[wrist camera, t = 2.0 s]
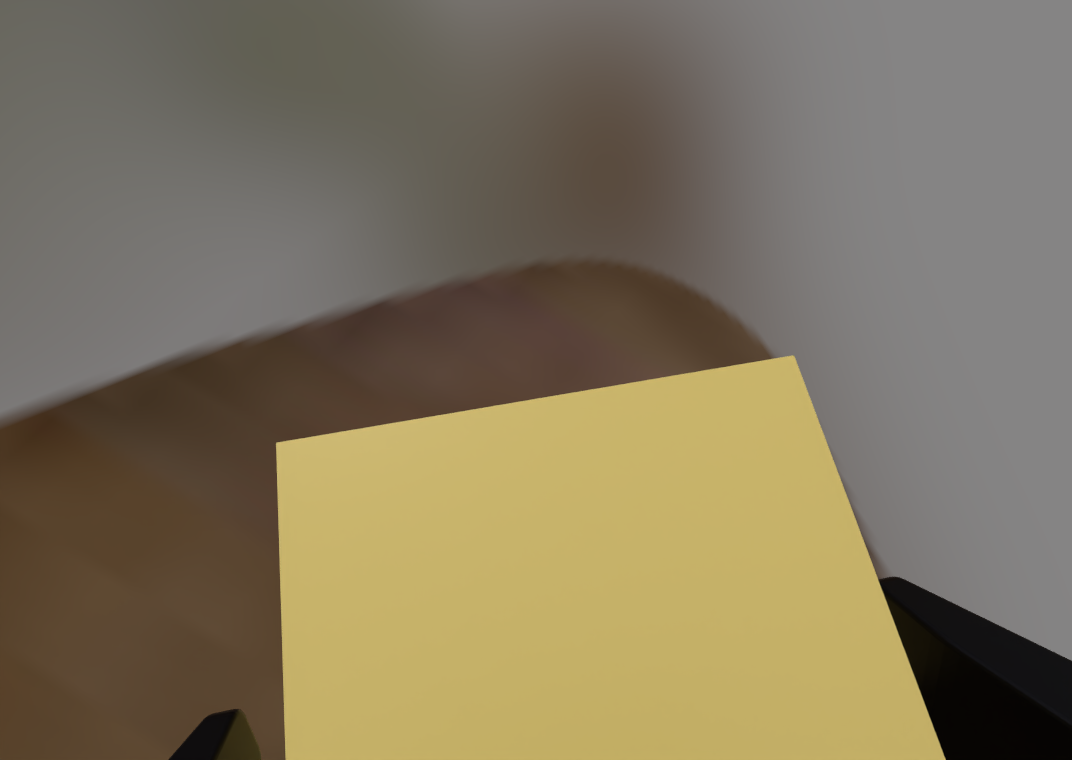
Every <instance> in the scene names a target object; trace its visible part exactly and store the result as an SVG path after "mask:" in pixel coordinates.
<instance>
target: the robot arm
mask: <svg viewBox="0 0 1072 760" xmlns="http://www.w3.org/2000/svg"><path fill="white" fill-rule="evenodd" d="M878 581H879V583H880V586H881V589H882V591H883V594H884V597H885V599H886V602H887V605H888V607H889V610H890V613H891V615H892V618H893V621H894V623H895V626H896V629H897V631H898V634H899V637H900V639H901V642H902V645H903V647H904V650H905V653H906V655H907V658H908V661H909V663H910V666H911V669H912V671H913V674H914V677H915V679H916V682H917V685H918V687H919V690H920V693H921V695H922V698H923V701H924V703H925V706H926V709H927V711H928V714H929V717H930V719H931V722H932V725H933V727H934V730H935V733H936V735H937V738H938V741H939V743H940V746H941V749H942V751H943V754H944V757H945V759H946V760H1072V661H1071V660H1069V659H1067V658H1065V657H1062V656H1060V655H1058V654H1057V653H1054V652H1052V651H1050V650H1048V649H1046V648H1044V647H1042V646H1040V645H1038V644H1036V643H1034V642H1032V641H1030V640H1028V639H1026V638H1024V637H1022V636H1019V635H1018V634H1015V633H1013V632H1011V631H1009V630H1007V629H1005V628H1003V627H1001V626H999V625H997V624H995V623H993V622H991V621H989V620H987V619H985V618H982V617H980V616H978V615H976V614H974V613H972V612H970V611H968V610H966V609H964V608H962V607H960V606H958V605H956V604H954V603H952V602H950V601H947V600H946V599H944V598H941V597H939V596H937V595H935V594H933V593H931V592H929V591H927V590H925V589H923V588H921V587H919V586H917V585H915V584H913V583H911V582H909V581H907V580H904V579H902V578H900V577H887V578H882V579H878ZM169 760H261V753H260V749H259V746H258V743H257V741H256V739H255V737H254V734H253V732H252V730H251V727H250V725H249V723H248V721H247V718H246V716H245V714H244V713H243V712H242V711H241V710H239V709H233V710H228V711H223V712H218V713H213V714H211V715H209V716H207V717H206V718H205V719H204V720H203V721H202V722H201V723H200V724H199V725H198V726H197V727H196V729H195V730H194V731H193V732H192V733H191V734H190V735H189V737H188V738H187V739H186V740H185V741H184V742H183V744H182V745H181V746H180V747H179V748H178V749H177V750H176V752H175V753H174V754H173V755H172V756H171V757H170V758H169Z"/></svg>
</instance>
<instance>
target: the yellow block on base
mask: <svg viewBox="0 0 1072 760" xmlns="http://www.w3.org/2000/svg"><path fill="white" fill-rule="evenodd" d="M276 451H277V485H278V518H279V551H280V585H281V618H282V652H283V685H284V718H285V752H286V760H946V759H945V757H944V754H943V751H942V749H941V746H940V743H939V741H938V738H937V735H936V733H935V730H934V727H933V725H932V722H931V719H930V717H929V714H928V711H927V709H926V706H925V703H924V701H923V698H922V695H921V693H920V690H919V687H918V685H917V682H916V679H915V677H914V674H913V671H912V669H911V666H910V663H909V661H908V658H907V655H906V653H905V650H904V647H903V645H902V642H901V639H900V637H899V634H898V631H897V629H896V626H895V623H894V621H893V618H892V615H891V613H890V610H889V607H888V605H887V602H886V599H885V597H884V594H883V591H882V589H881V586H880V583H879V581H878V578H877V575H876V573H875V570H874V567H873V565H872V562H871V559H870V557H869V554H868V551H867V549H866V546H865V543H864V541H863V538H862V535H861V533H860V530H859V527H858V525H857V522H856V519H855V517H854V514H853V511H852V509H851V506H850V503H849V501H848V498H847V495H846V493H845V490H844V487H843V485H842V482H841V479H840V477H839V474H838V471H837V469H836V466H835V463H834V461H833V458H832V455H831V453H830V450H829V447H828V445H827V442H826V439H825V437H824V434H823V431H822V429H821V426H820V423H819V421H818V418H817V415H816V413H815V410H814V408H813V405H812V402H811V399H810V397H809V394H808V391H807V389H806V386H805V383H804V381H803V379H802V376H801V373H800V370H799V367H798V365H797V362H796V359H795V357H794V356H788V357H782V358H776V359H770V360H764V361H758V362H752V363H746V364H740V365H734V366H728V367H722V368H717V369H711V370H705V371H699V372H693V373H687V374H681V375H675V376H669V377H663V378H657V379H651V380H646V381H640V382H634V383H628V384H622V385H616V386H610V387H604V388H598V389H592V390H586V391H580V392H575V393H569V394H563V395H557V396H551V397H545V398H539V399H533V400H527V401H521V402H515V403H510V404H504V405H498V406H492V407H486V408H480V409H474V410H468V411H462V412H456V413H450V414H444V415H439V416H433V417H427V418H421V419H415V420H409V421H403V422H397V423H391V424H385V425H379V426H373V427H368V428H362V429H356V430H350V431H344V432H338V433H332V434H326V435H320V436H314V437H308V438H302V439H297V440H291V441H285V442H279V443H276Z"/></svg>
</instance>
